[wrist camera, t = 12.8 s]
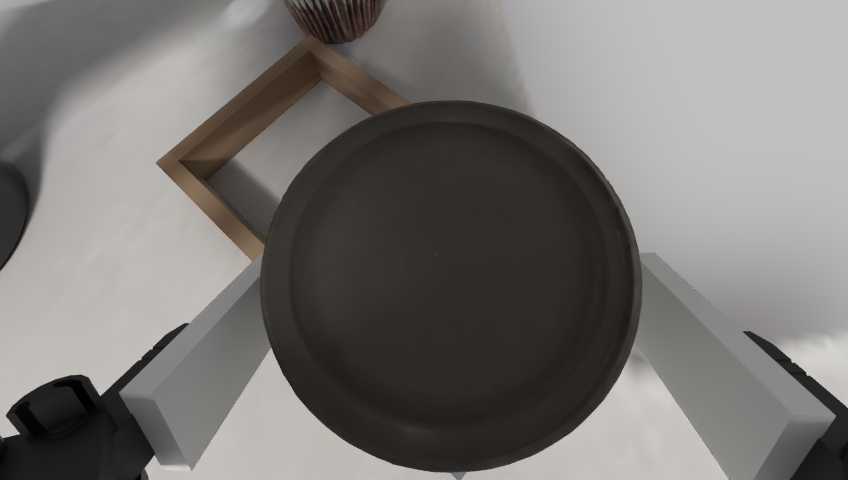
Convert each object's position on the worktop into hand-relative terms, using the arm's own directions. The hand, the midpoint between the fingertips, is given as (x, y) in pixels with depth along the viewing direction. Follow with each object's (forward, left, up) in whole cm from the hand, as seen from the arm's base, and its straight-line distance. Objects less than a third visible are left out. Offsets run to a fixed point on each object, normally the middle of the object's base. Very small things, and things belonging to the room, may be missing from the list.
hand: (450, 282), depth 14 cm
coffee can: (0, 0, -10) cm, 10 cm away
